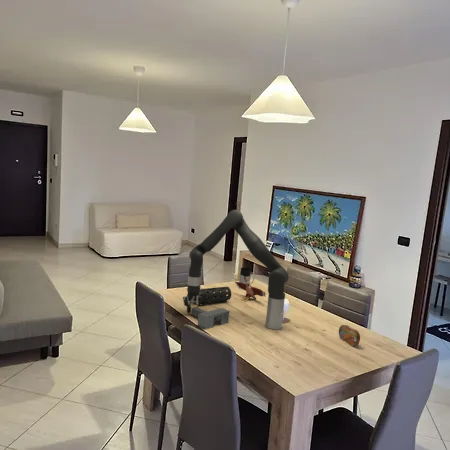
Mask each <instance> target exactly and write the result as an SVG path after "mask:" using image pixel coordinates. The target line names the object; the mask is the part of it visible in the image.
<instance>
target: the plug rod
mask: <svg viewBox="0 0 450 450" xmlns="http://www.w3.org/2000/svg"><path fill="white" fill-rule="evenodd" d="M203 312H207V311H206V310H205V309H202V308H199V306H198V307H197V305H195V304H191V312H190V313H188V314H189V315H193V316H194V317H197V318H198V315H199V313H203Z"/></svg>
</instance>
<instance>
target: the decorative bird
mask: <svg viewBox="0 0 450 450" xmlns="http://www.w3.org/2000/svg"><path fill="white" fill-rule="evenodd" d="M244 280H245V282H246V284H244V283H241V282H239V281H235V282H234V284H236V286H237V288H238V287H239V288H241V289H240V290H242V289H243V290H242V291H245V292H246V293H245V296H244V298H241V299H240V300H241V301H244V302H247V301H248V300H250V298H251V299H254V300H257V298H256V296H259V297H266V295H267V294H266V291H263V290H262V289H261V288H258V287H255V286H251V284H250V285H249V282H248V280H247V278H246V277H244ZM239 288H238V289H239Z"/></svg>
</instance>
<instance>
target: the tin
mask: <svg viewBox="0 0 450 450" xmlns="http://www.w3.org/2000/svg"><path fill="white" fill-rule="evenodd" d="M338 336H339V338H340V340H341V339H342V341H343V342H344V341H345V344H348V345H349V346H351V347H354V346H356V347H357V346H358V345H359V344H360V341H361V335H360V332H359V331H358V330H357V329H355V328H353V327H352V326H350V325H348V324H341V325H340V326H339V329H338Z"/></svg>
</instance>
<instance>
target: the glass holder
mask: <svg viewBox="0 0 450 450" xmlns="http://www.w3.org/2000/svg"><path fill="white" fill-rule="evenodd" d="M251 270H252V269H251V268H249V267H240V272H239V281H238V282H241V283H244V284H246V282H245V280H244V277H246V278H247V280H248V282H249V285H250V286H251V285H252V284H253V283H254V281H255V277H256V276H255V273H254V272H252V271H251ZM252 274H253V280H252V282H251V277H252ZM237 288H238V289H239V290H242V291H244V290H243V289H241V288H239V287H238V286H237Z"/></svg>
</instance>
